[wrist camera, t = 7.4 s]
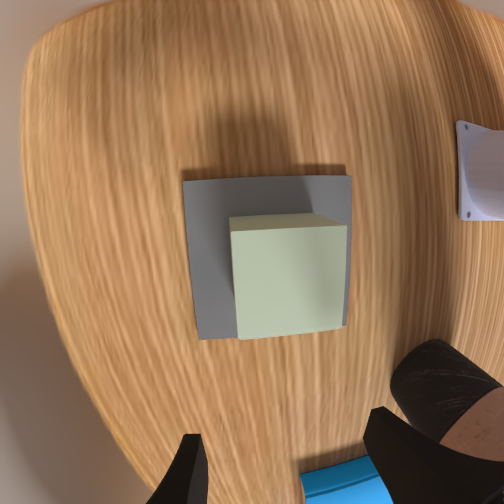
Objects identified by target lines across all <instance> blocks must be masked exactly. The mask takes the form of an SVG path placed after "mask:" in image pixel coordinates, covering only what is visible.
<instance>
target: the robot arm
mask: <svg viewBox="0 0 504 504" xmlns="http://www.w3.org/2000/svg"><path fill="white" fill-rule="evenodd" d="M456 132H457V144H458V162H459V209H458V216H459V219H460V220H463V221H487V220H504V130H498V131H494V130H491V129H488V128H485V127H482V126H479V125H476V124H473V123H469V122H466V121H463V120H459V121H457V122H456ZM467 213H468V214H467ZM363 440H364V443H365V446H366V449H367V452H368V454H369V457H370V459H371V461H372V463H373V464H374V466H375V468H376V470H377V472H378V474H379V475H380V477H381V479H382V481H383V483H384V485H385V486H386V488H387V490H388V492H389V494H390V497H391V499H392V502H393V504H504V500H503V499H504V493H503V492H504V461H493V460H487V459H482V458H477V457H473V456H470V455H467V454H464V453H461V452H458V451H455V450H453V449H450V448H448V447H446V446H444V445H442V444H440V443H438V442H436V441H434V440H432V439H430V438H429V437H427V436H425V435H424V434H422V433H420V432H419V431H417V430H416V429H414V428H413V427H411V426H410V425H409V424H407V423H406V422H404V421H403V420H402V419H400V418H399V417H397V416H396V415H395V414H393V413H392V412H391V411H389V410H388V409H387V408H385V407H384V406H382V407H379V408H375V409H371V413H370V416H369V420H368V423H367V426H366V430H365V433H364V436H363ZM207 494H208V461H207V457H206V453H205V449H204V446H203V442H202V438H201V434H185V435H183V438H182V441H181V444H180V446H179V449H178V451H177V453H176V455H175V457H174V460H173V462H172V463H171V465H170V467H169V469H168V471H167V473H166V475H165V476H164V478H163V480H162V481H161V483H160V484H159V486H158V487H157V489H156V491H155V492H154V493H153V495H152V496H151V498H150V499H149V500H148V502H147V503H146V504H207Z"/></svg>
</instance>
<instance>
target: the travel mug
mask: <svg viewBox="0 0 504 504" xmlns="http://www.w3.org/2000/svg"><path fill="white" fill-rule="evenodd" d="M391 393H392V396H393V398H394V399H395V401H396V403H397V404H398V406H399V407H400V409H401V410H402V412H403V413H404V415H405V416H406V418H407V419H408V421H409V422H410V424H411V425H412V427H413V428H414V429H416V430H417V431H419V432H420V433H422V434H424V435H425V436H427V437H429V438H430V439H432V440H434V441H436V442H438V443H440V444H442V445H444V446H446V447H448V448H450V449H453V450H455V451H458V452H461V453H464V454H467V455H470V456H473V457H477V458H482V459H487V460H493V461H504V387H503V386H502V385H501V384H500V383H499V382H497V381H496V380H495V379H494V378H492V377H491V376H490V375H488V374H487V373H486V372H485V371H483V370H482V369H481V368H479V367H478V366H477V365H476V364H474V363H473V362H472V361H470V360H469V359H468V358H466V357H465V356H464V355H463V354H461V353H460V352H459V351H457V350H456V349H455V348H453V347H452V346H450V345H449V344H448V343H446V342H444V341H442V340H431V341H427V342H425V343H423V344H421V345H420V346H418V347H417V348H415V349H414V350H413V351H412V352H410V353H409V354H408V355H407V356H406V357H405V358H404V360H403V361H402V362H401V363H400V365H399V366H398V368H397V370H396V371H395V373H394V375H393V378H392V381H391ZM503 493H504V492H503ZM503 500H504V499H503Z"/></svg>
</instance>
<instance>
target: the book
mask: <svg viewBox="0 0 504 504" xmlns="http://www.w3.org/2000/svg"><path fill="white" fill-rule="evenodd" d="M300 480H301V491H302V502H303V504H393V502H392V499H391V497H390V494H389V492H388V490H387V488H386V486H385V485H384V483H383V481H382V479H381V477H380V475H379V474H378V472H377V470H376V468H375V466H374V464H373V463H372V461H371V459H370V457H369V455H366V456H364V457H361V458H358V459H355V460H352V461H349V462H345V463H342V464H339V465H335V466H332V467H328V468H325V469H321V470H317V471H313V472H309V473H305V474H300Z"/></svg>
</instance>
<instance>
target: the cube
mask: <svg viewBox="0 0 504 504" xmlns="http://www.w3.org/2000/svg"><path fill="white" fill-rule="evenodd" d="M229 225H230V242H231V258H232V273H233V287H234V301H235V312H236V322H237V332H238V340H243V339H255V338H266V337H277V336H286V335H295V334H304V333H312V332H319V331H327V330H334V329H340V328H342V318H343V306H344V291H345V273H346V247H347V225H344V224H342V223H339V222H337V221H334V220H331V219H329V218H326V217H324V216H321V215H318V214H316V213H297V214H275V215H256V216H238V217H229Z"/></svg>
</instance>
